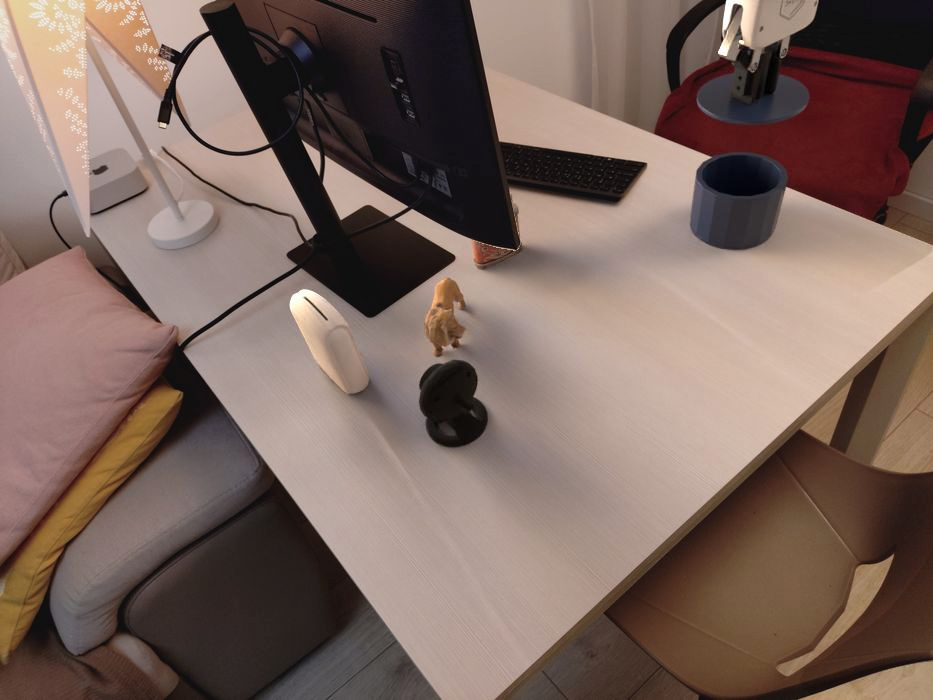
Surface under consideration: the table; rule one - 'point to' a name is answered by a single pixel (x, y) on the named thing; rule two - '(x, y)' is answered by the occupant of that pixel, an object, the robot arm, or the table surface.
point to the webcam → (452, 403)
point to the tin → (737, 199)
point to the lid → (765, 107)
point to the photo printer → (330, 341)
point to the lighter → (494, 250)
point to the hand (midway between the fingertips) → (752, 93)
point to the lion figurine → (444, 317)
